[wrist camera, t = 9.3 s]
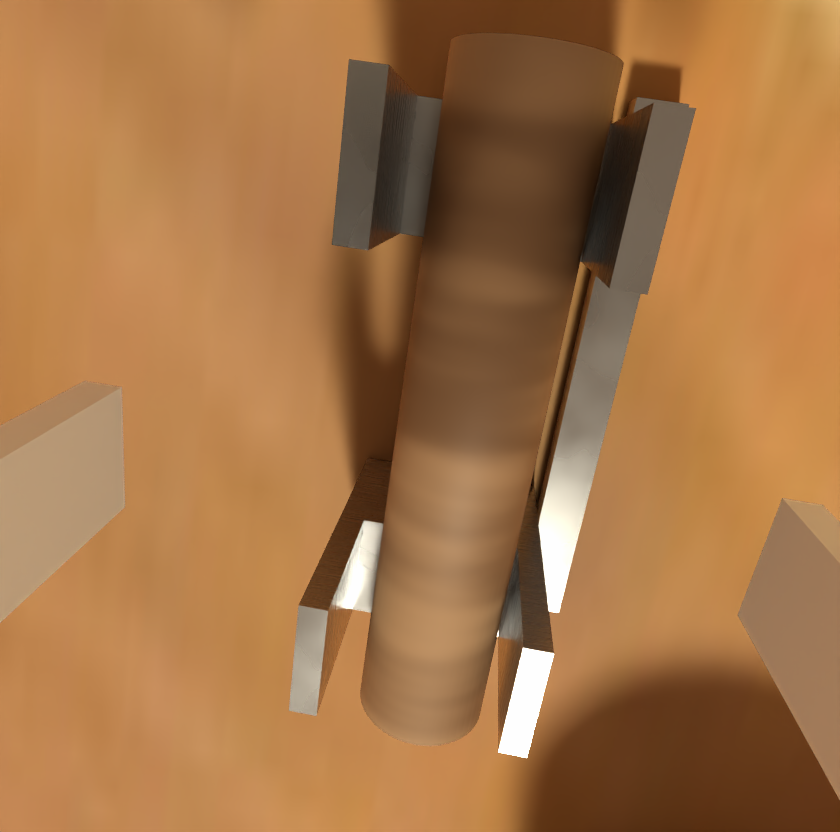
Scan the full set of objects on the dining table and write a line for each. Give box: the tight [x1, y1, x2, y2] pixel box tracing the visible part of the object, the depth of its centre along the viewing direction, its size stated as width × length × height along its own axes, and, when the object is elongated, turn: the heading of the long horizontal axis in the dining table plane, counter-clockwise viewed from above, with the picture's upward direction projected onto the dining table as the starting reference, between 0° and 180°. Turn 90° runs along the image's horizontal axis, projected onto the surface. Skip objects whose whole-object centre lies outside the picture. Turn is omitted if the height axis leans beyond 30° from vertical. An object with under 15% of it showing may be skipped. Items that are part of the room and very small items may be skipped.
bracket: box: [289, 59, 696, 758], centre depth 20 cm, size 19×9×10 cm, turn 172°
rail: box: [360, 33, 624, 746], centre depth 19 cm, size 19×4×4 cm, turn 172°
